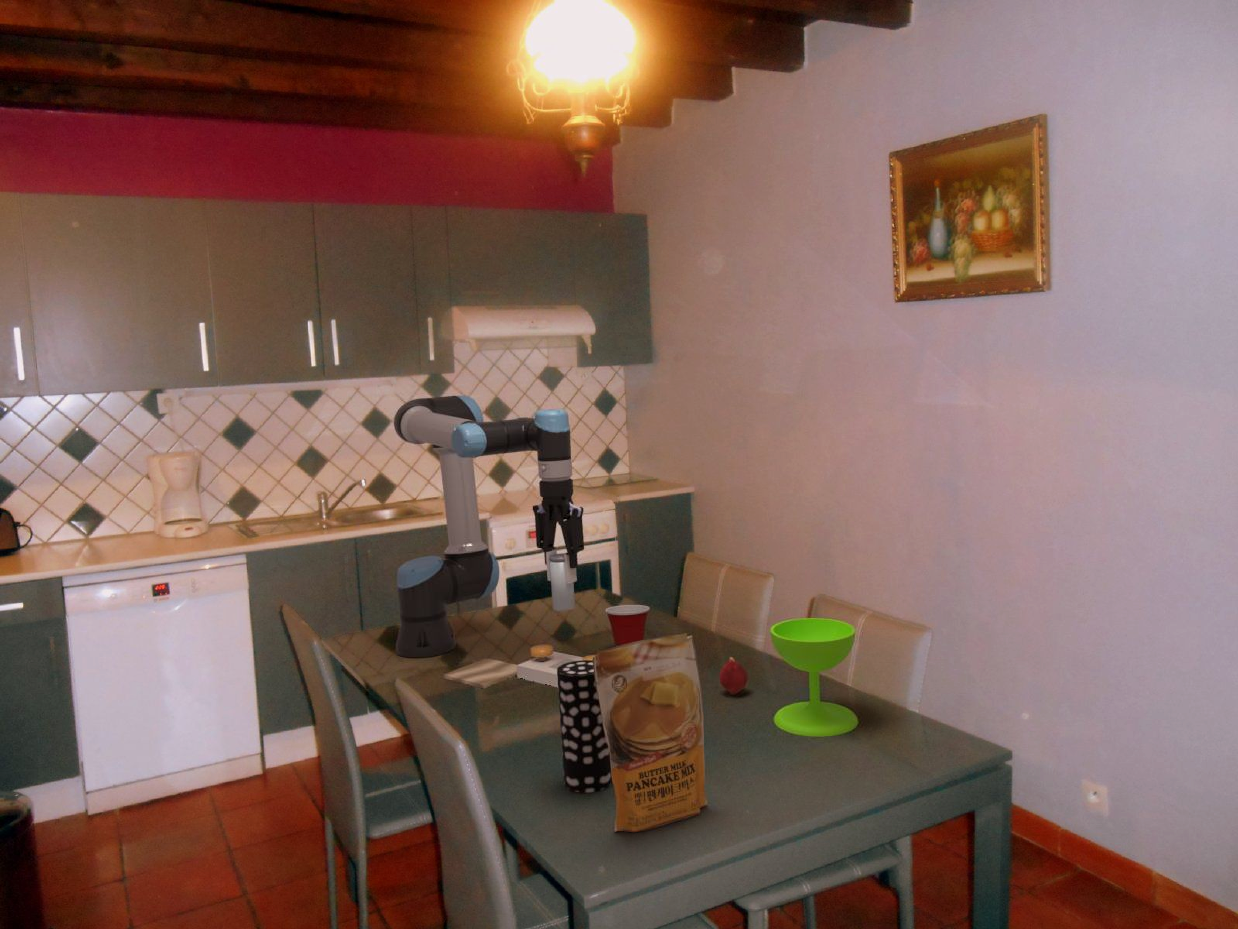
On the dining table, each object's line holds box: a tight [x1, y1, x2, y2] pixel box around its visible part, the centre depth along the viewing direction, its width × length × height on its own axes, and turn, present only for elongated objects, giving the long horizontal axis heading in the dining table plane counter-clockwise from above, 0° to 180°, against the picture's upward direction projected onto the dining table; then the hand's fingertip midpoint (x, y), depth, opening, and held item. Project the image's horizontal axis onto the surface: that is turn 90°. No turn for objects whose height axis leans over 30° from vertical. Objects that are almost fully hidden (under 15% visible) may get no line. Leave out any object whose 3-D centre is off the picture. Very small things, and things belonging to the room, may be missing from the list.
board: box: [442, 657, 518, 689], centre depth 219 cm, size 14×14×1 cm
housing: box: [516, 650, 583, 688], centre depth 213 cm, size 21×12×3 cm, turn 51°
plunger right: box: [582, 654, 596, 660], centre depth 208 cm, size 5×5×4 cm
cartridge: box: [549, 552, 576, 612], centre depth 211 cm, size 5×5×12 cm
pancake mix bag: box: [593, 631, 708, 833], centre depth 144 cm, size 7×19×28 cm, turn 116°
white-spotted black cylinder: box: [557, 660, 613, 794], centre depth 158 cm, size 8×8×20 cm
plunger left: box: [530, 644, 554, 663], centre depth 218 cm, size 5×5×4 cm
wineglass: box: [769, 617, 859, 738], centre depth 180 cm, size 16×16×18 cm
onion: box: [718, 656, 748, 696], centre depth 196 cm, size 6×6×8 cm
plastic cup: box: [604, 604, 651, 647], centre depth 227 cm, size 11×11×12 cm
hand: (562, 580), depth 211 cm, fingers closed on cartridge, 5 cm apart
